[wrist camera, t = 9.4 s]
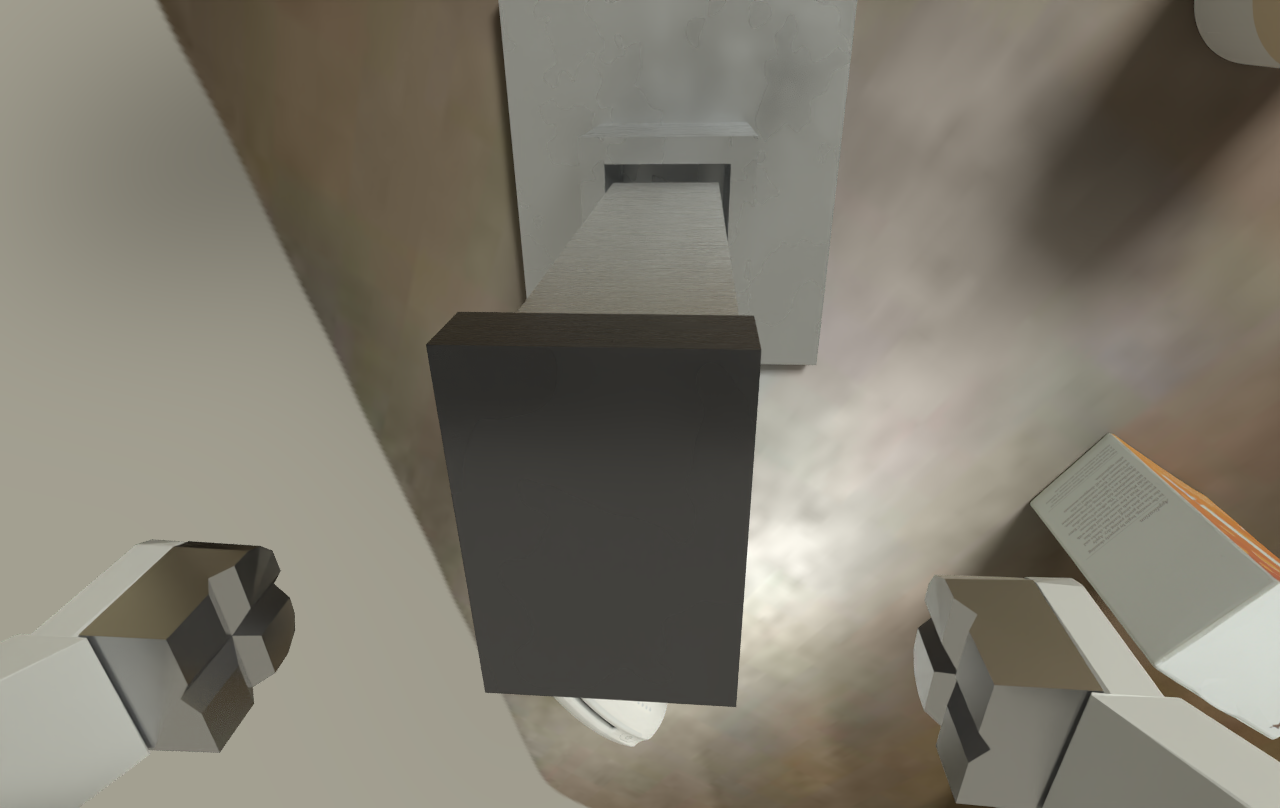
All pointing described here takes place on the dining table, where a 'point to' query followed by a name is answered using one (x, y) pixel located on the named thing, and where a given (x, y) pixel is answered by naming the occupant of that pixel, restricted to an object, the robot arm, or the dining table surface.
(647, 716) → the photo printer
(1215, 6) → the coffee cup
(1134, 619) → the small box
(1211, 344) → the dining table surface
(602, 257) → the column
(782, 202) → the stand base
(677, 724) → the dining table surface
